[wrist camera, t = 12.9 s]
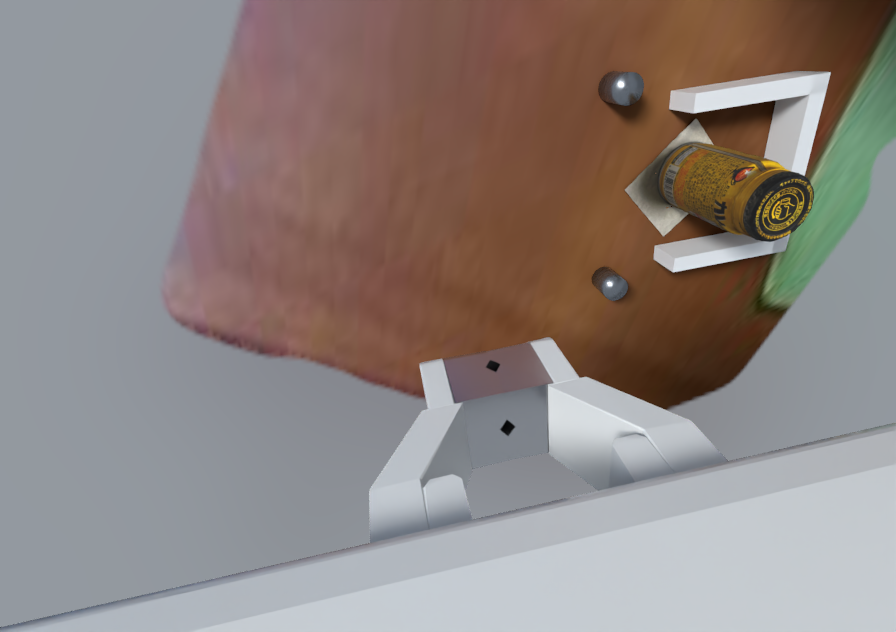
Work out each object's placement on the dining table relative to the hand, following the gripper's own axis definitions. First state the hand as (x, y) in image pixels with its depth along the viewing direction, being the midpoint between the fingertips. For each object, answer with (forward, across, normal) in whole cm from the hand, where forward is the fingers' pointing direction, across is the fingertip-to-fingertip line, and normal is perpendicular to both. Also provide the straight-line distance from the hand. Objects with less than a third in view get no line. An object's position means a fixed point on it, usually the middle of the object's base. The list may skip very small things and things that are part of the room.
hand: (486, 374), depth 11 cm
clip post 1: (+33, -19, -2) cm, 38 cm away
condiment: (+33, -26, +7) cm, 43 cm away
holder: (+33, -31, +7) cm, 46 cm away
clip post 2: (+33, -19, +16) cm, 42 cm away
